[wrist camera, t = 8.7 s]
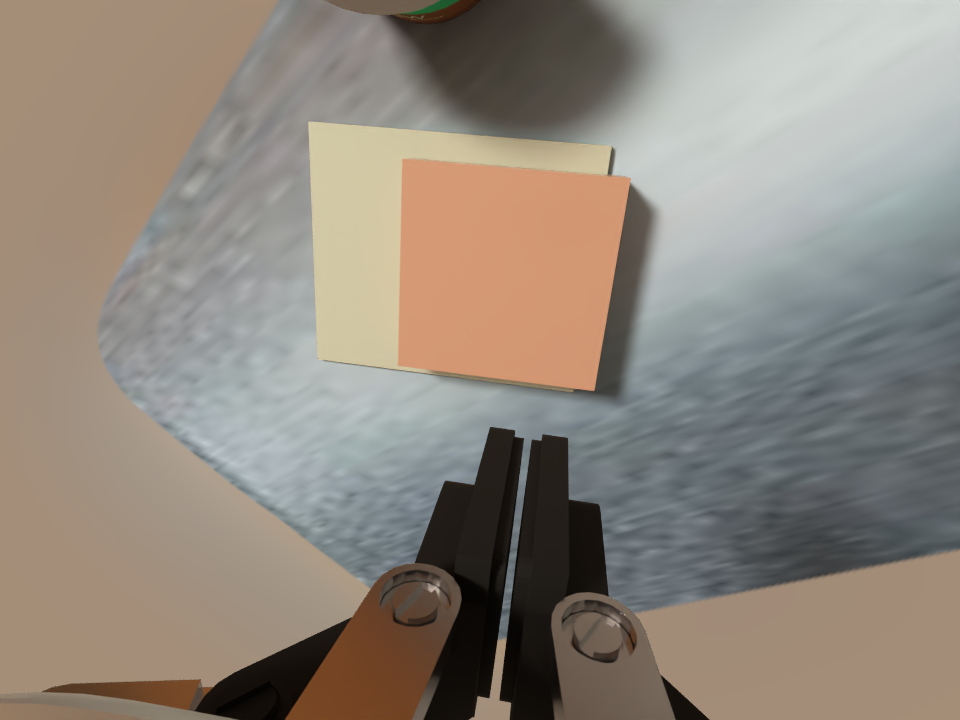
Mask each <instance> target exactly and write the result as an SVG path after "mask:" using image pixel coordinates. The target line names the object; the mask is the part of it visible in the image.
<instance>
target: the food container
mask: <svg viewBox="0 0 960 720" xmlns="http://www.w3.org/2000/svg"><path fill="white" fill-rule="evenodd" d="M325 1H327V2H329V3H331V4H334V5H336V6H338V7H340V8H342V9H346V10H351V11H355V12H359V13H363V14H374V15H394V16H396V17H398V18H400V19H402V20H405V21H409V22H413V23H420V24H433V23H440V22H445V21H448V20H451V19H453V18H456V17H458V16H460V15H462V14H463V13H465V12H467V11H469V10H470V9H471V8H472V7H473V6H475V5H476V4H477V3H478V2H480V1H481V0H325Z"/></svg>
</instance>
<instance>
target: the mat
mask: <svg viewBox="0 0 960 720" xmlns="http://www.w3.org/2000/svg"><path fill="white" fill-rule="evenodd" d="M309 147H310V173H311V199H312V224H313V250H314V276H315V301H316V327H317V353H318V359H320V360H328V361H335V362H343V363H351V364H358V365H366V366H374V367H382V368H389V369H397V370H405V371H412V372H420V373H428V374H435V375H443V376H451V377H459V378H466V379H474V380H482V381H489V382H497V383H505V384H513V385H520V386H528V387H536V388H543V389H551V390H559V391H566V392H573V391H574V388H567V387H559V386H551V385H543V384H535V383H528V382H520V381H512V380H504V379H497V378H489V377H481V376H473V375H465V374H458V373H450V372H442V371H434V370H427V369H419V368H411V367H403V366H398V340H399V291H400V243H401V194H402V159H407V158H418V159H430V160H442V161H453V162H465V163H476V164H488V165H500V166H511V167H523V168H535V169H546V170H558V171H570V172H581V173H593V174H605V175H607V174H608V167H609V161H610V154H611V148H612V146H605V145H592V144H580V143H567V142H555V141H543V140H530V139H518V138H506V137H493V136H481V135H468V134H456V133H444V132H431V131H419V130H407V129H394V128H382V127H369V126H357V125H345V124H332V123H320V122H309Z"/></svg>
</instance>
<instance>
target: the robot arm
mask: <svg viewBox="0 0 960 720" xmlns="http://www.w3.org/2000/svg"><path fill="white" fill-rule="evenodd" d="M514 436H515V430H508V429H501V428H494V427H490V429H489V433H488V437H487V441H486V444H485V448H484V452H483V455H482V459H481V463H480V466H479V470H478V474H477V478H476V481H475V485H471V484H464V483H458V482H451V481H445V482H444V484H443V487H442V490H441V492H440V495H439V498H438V501H437V503H436V506H435V509H434V512H433V514H432V517H431V520H430V523H429V525H428V528H427V531H426V534H425V536H424V539H423V542H422V545H421V547H420V550H419V553H418V556H417V558H416V561H415V563H414V564H405V565H401V566H398V567H395V568H393V569H391V570H389V571H388V572H386V573H384V574H383V575H382V576H381V577H380V578H379V579H378V580H377V581H376V582H375V583H374V585H373V586H372V588H371V589H370V591H369V592H368V594H367V595H366V597H365V598H364V600H363V601H362V603H361V605H360V606H359V608H358V609H357V611H356V612H355V614H354V615H353V617H351V618H349V619H347V620H345V621H343V622H341V623H339V624H336V625H335V626H332V627H330V628H328V629H326V630H324V631H322V632H320V633H317V634H315V635H313V636H311V637H309V638H307V639H305V640H303V641H300V642H298V643H296V644H294V645H292V646H290V647H288V648H286V649H283V650H281V651H279V652H277V653H275V654H273V655H271V656H269V657H267V658H264V659H262V660H260V661H258V662H256V663H254V664H252V665H250V666H247V667H245V668H243V669H241V670H239V671H237V672H235V673H233V674H232V675H230V676H228V677H227V678H225V679H223V680H222V681H220V682H219V683H217V684H216V685H215V686H214V687H202V683H201V679H197V680H164V681H135V682H105V683H73V684H66V685H61V686H55V687H51V688H49V689H47V690H44V691H42V692H33V693H14V694H0V720H469V719H470V718H472V717H474V715H475V709H476V703H477V697H478V696H480V697H486V698H489V697H490V690H491V683H492V676H493V669H494V661H495V654H496V647H497V640H498V633H499V625H500V618H501V611H502V604H503V596H504V589H505V582H506V575H507V567H508V560H509V553H510V545H511V538H512V530H513V522H514V514H515V506H516V498H517V490H518V482H519V474H520V466H521V458H522V450H523V442H524V438H518V437H514ZM500 701H505V702H510V703H511V711H510V720H709V719H708V718H707V717H706V716H705V715H704V714H703V713H702V712H701V711H699V710H698V709H697V708H696V707H695V706H694V705H693V704H692V703H691V702H690V701H689V700H688V699H687V698H685V697H684V696H683V695H682V694H681V693H680V692H679V691H678V690H677V689H676V688H675V687H673V686H672V685H671V684H670V683H669V682H668V681H667V680H666V679H665V678H664V677H663V676H661V675H660V673H659V669H658V666H657V664H656V661H655V658H654V655H653V652H652V649H651V646H650V643H649V640H648V637H647V634H646V631H645V630H644V628H643V626H642V624H641V622H640V620H639V619H638V618H637V617H636V615H635V614H634V613H633V612H632V611H631V610H630V609H629V608H627V607H626V606H625V605H623V604H622V603H620V602H619V601H617V600H615V599H613V598H610V597H609V595H608V585H607V574H606V564H605V554H604V543H603V533H602V523H601V512H600V506H599V505H598V504H594V503H587V502H581V501H574V500H569V494H568V438H565V437H558V436H551V435H544V434H543V435H542V441H539V440H532V443H531V450H530V458H529V465H528V473H527V481H526V488H525V496H524V503H523V511H522V518H521V526H520V534H519V541H518V549H517V557H516V565H515V574H514V582H513V591H512V599H511V607H510V616H509V624H508V632H507V641H506V650H505V657H504V666H503V674H502V682H501V691H500Z"/></svg>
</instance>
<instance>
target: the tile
mask: <svg viewBox="0 0 960 720" xmlns="http://www.w3.org/2000/svg"><path fill="white" fill-rule="evenodd" d="M630 180H631V178H629V177H626V176H616V175H605V174H593V173H581V172H570V171H558V170H546V169H535V168H523V167H511V166H500V165H488V164H476V163H465V162H453V161H442V160H430V159H418V158H407V159H402V194H401V243H400V291H399V340H398V366H403V367H411V368H419V369H427V370H434V371H442V372H450V373H458V374H465V375H473V376H481V377H489V378H497V379H504V380H512V381H520V382H528V383H535V384H543V385H551V386H559V387H567V388H574V389H582V390H590V391H594V390H595V384H596V378H597V372H598V367H599V361H600V355H601V349H602V343H603V337H604V332H605V326H606V320H607V314H608V308H609V302H610V297H611V291H612V285H613V279H614V273H615V268H616V262H617V256H618V250H619V244H620V238H621V233H622V227H623V221H624V215H625V209H626V203H627V198H628V192H629V186H630Z"/></svg>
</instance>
